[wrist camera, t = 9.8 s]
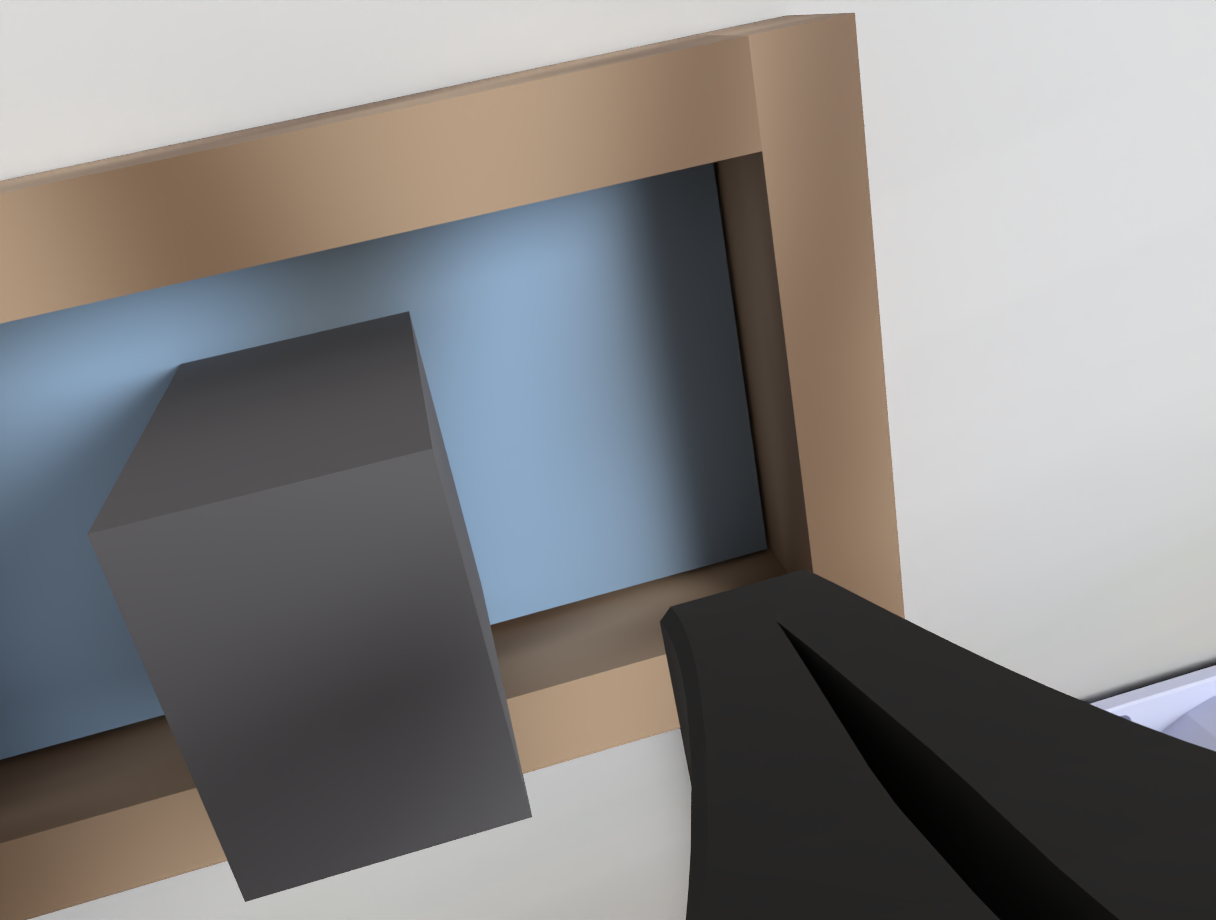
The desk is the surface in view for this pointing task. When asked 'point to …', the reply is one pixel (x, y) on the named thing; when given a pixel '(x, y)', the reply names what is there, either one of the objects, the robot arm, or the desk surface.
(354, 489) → the tall grey box
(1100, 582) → the desk surface
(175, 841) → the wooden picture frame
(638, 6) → the desk surface
